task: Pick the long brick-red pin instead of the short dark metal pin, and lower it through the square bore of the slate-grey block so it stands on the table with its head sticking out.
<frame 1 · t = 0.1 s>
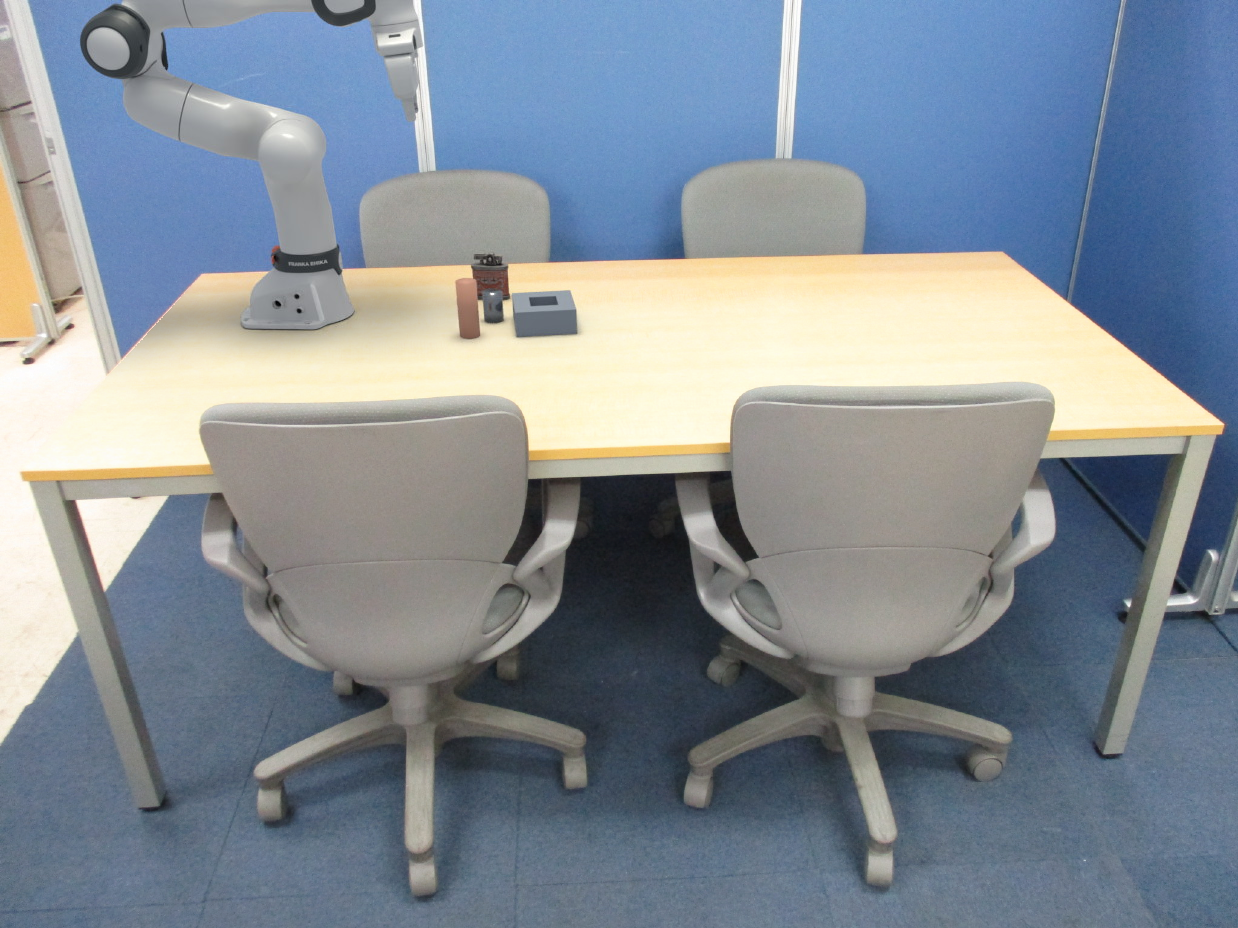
hand: (413, 117, 191), 39 cm above the table, tool pointing down, fingers open, 8 cm apart
lighter: (491, 299, 215), on the table
bore block: (544, 324, 200), on the table
short pin: (494, 320, 203), on the table
long pin: (470, 335, 195), on the table
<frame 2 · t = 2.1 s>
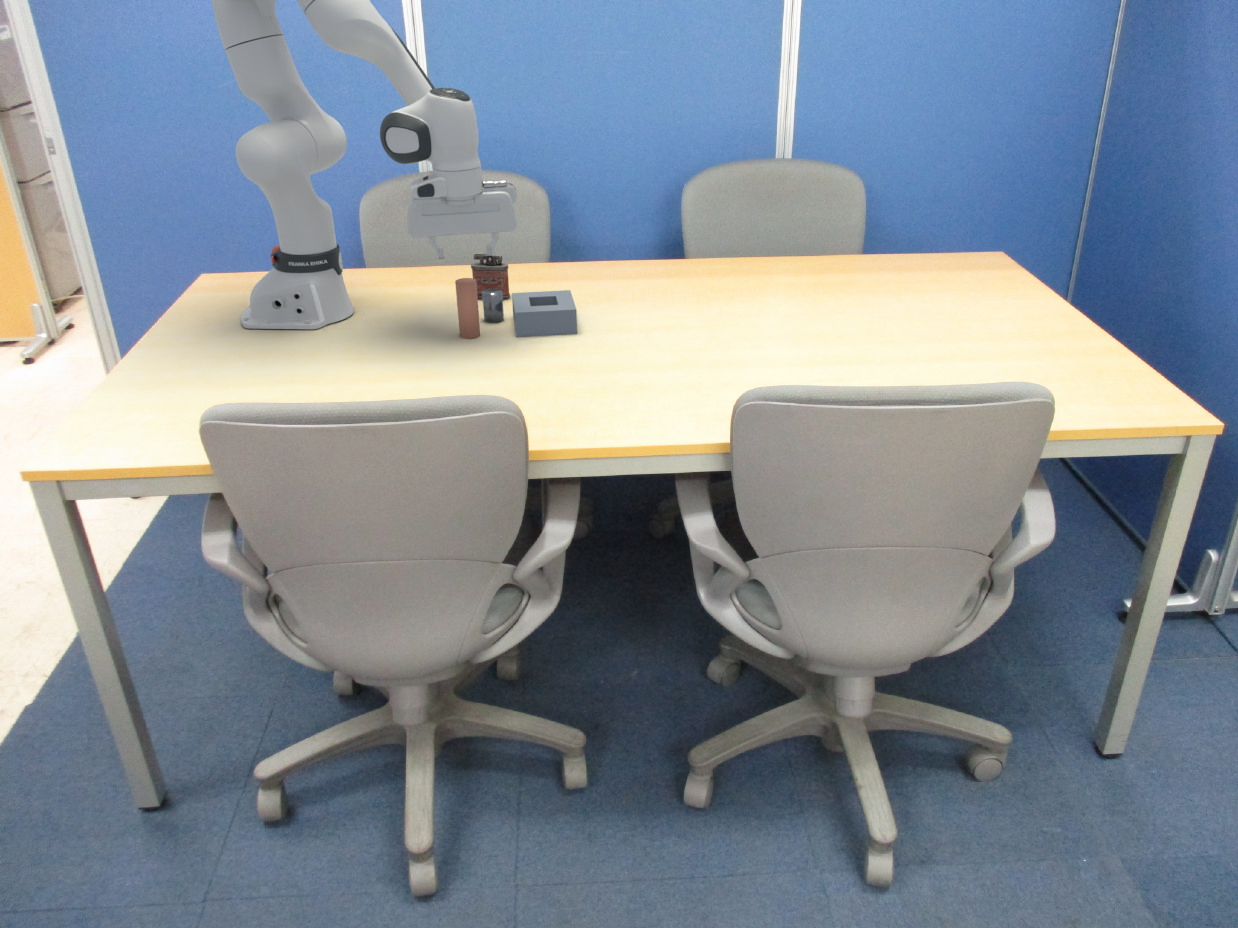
hand: (465, 257, 188), 16 cm above the table, tool pointing down, fingers open, 8 cm apart
nothing on the table moved.
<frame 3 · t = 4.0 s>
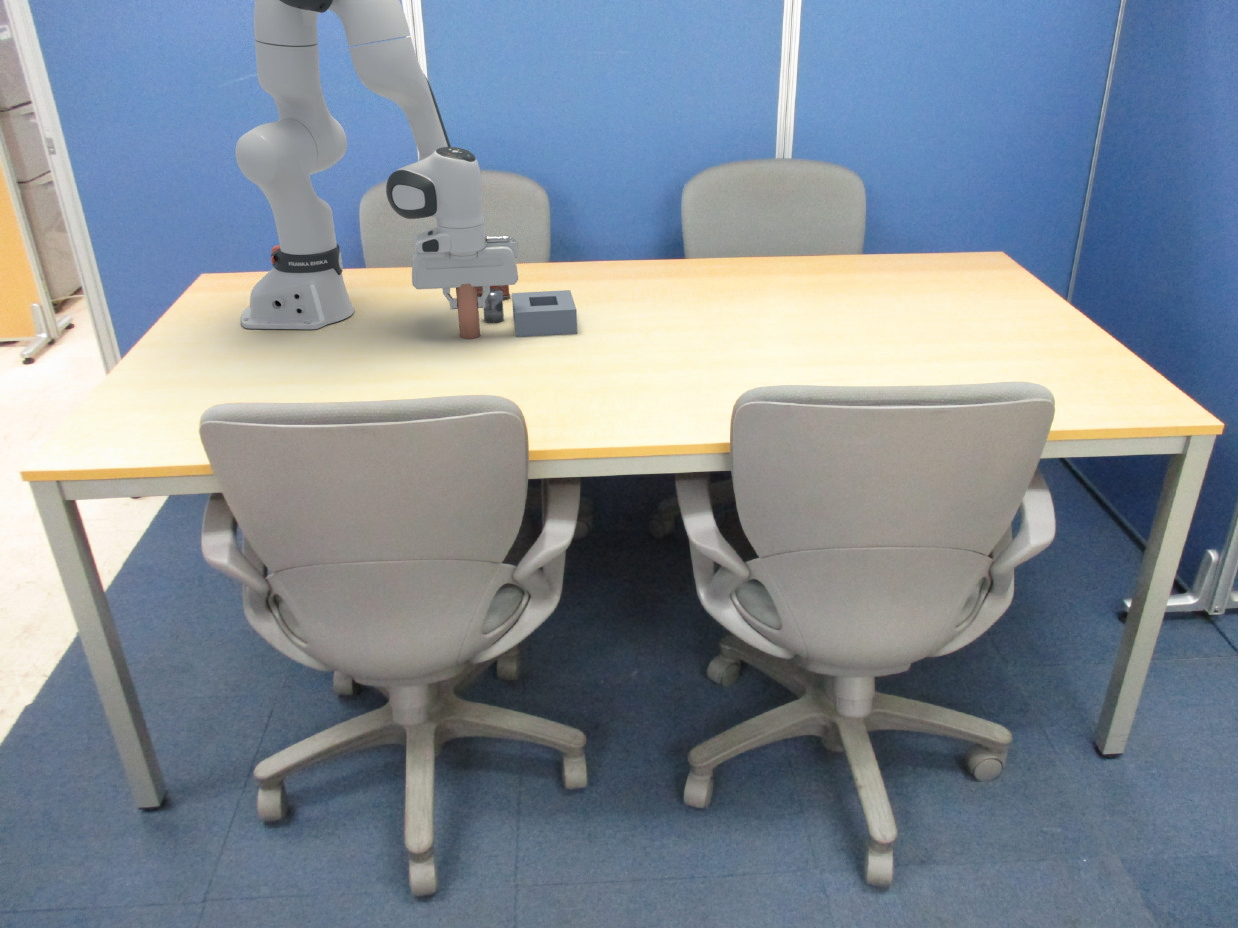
hand: (467, 308, 193), 6 cm above the table, tool pointing down, fingers closed on long pin, 4 cm apart
long pin: (470, 335, 195), on the table, touching gripper
everything else where it was.
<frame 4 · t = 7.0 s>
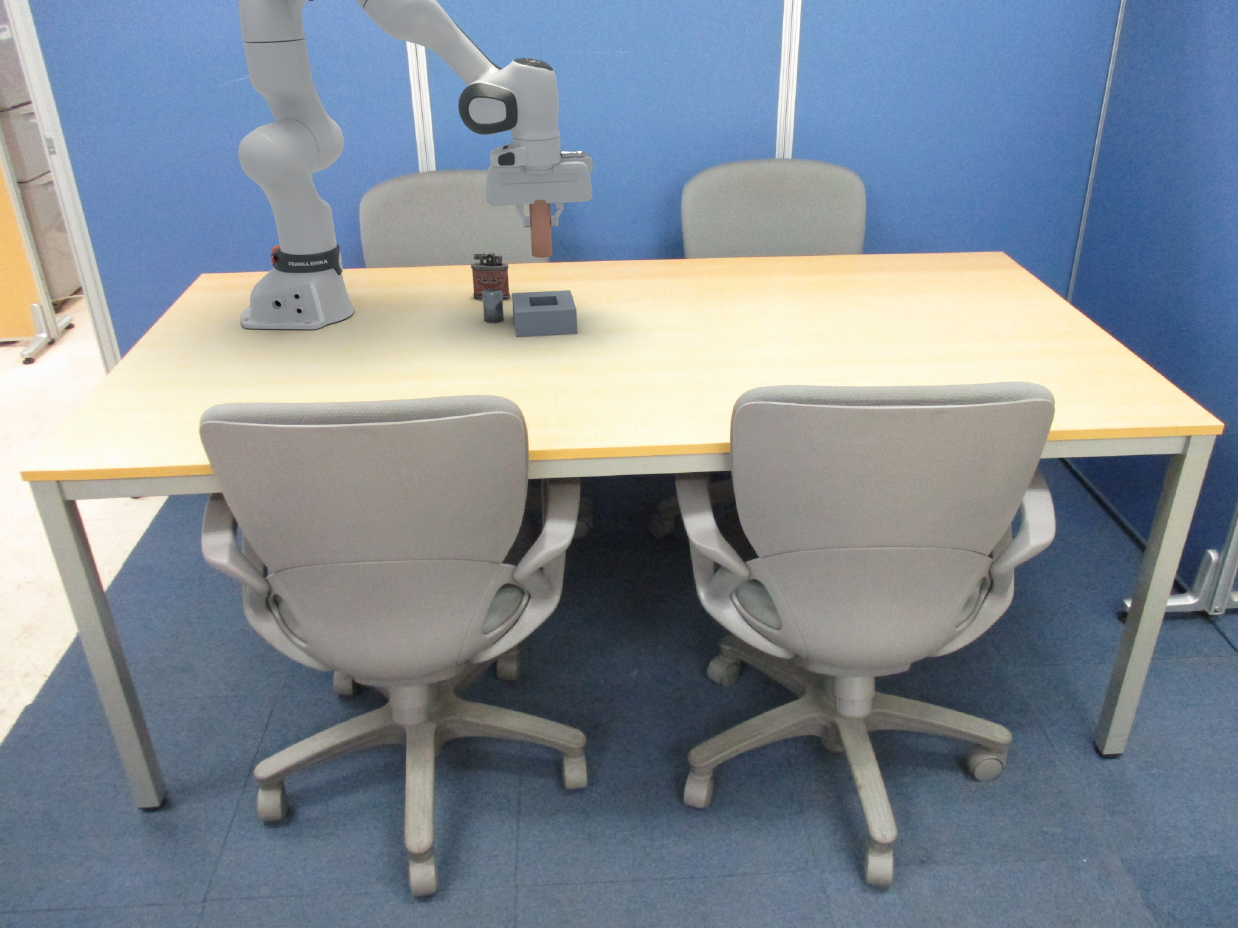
hand: (540, 226, 191), 20 cm above the table, tool pointing down, fingers closed on long pin, 4 cm apart
long pin: (542, 254, 193), point 15 cm above the table, touching gripper
everything else where it was.
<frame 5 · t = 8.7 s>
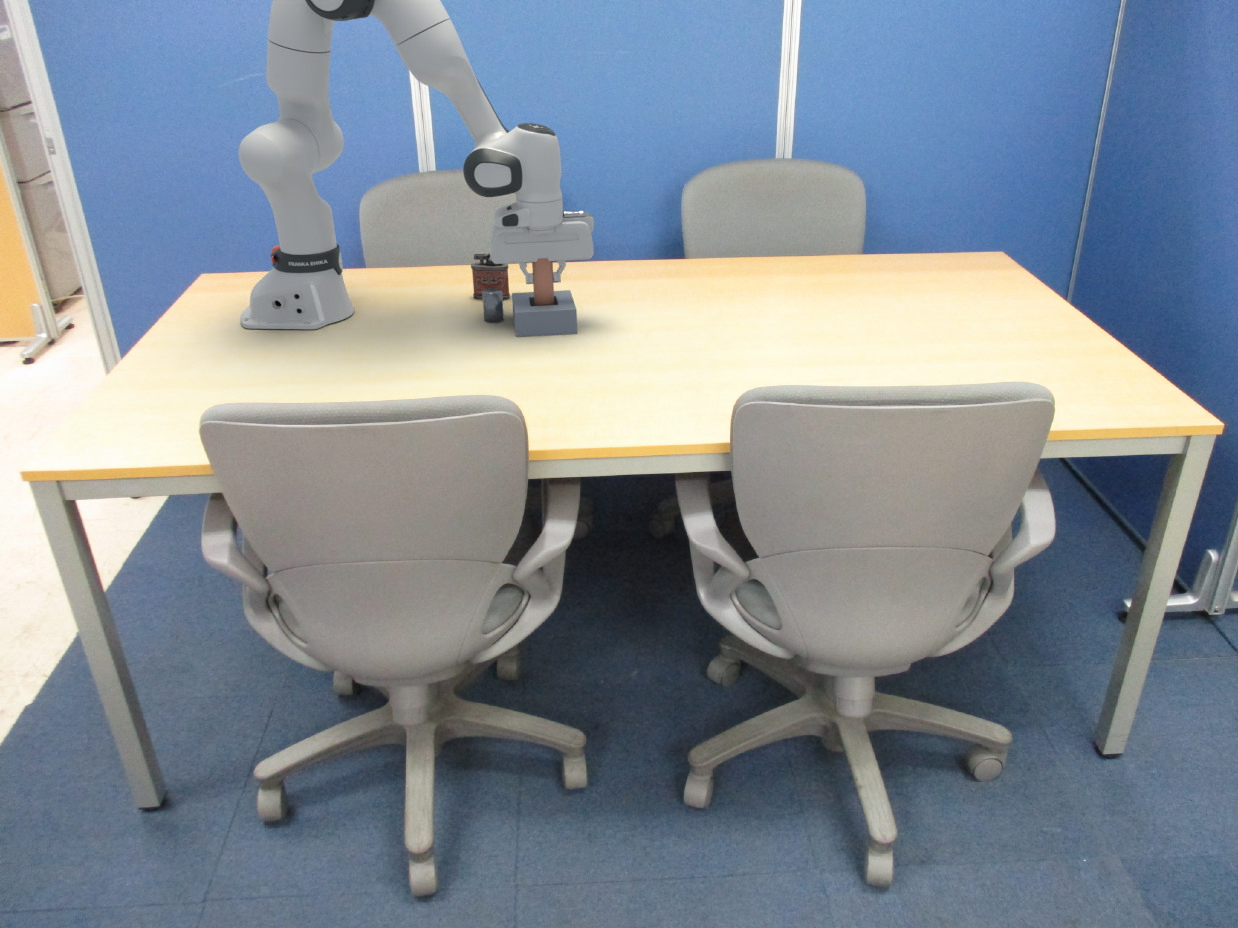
hand: (543, 282, 196), 9 cm above the table, tool pointing down, fingers closed on long pin, 4 cm apart
long pin: (544, 309, 199), point 3 cm above the table, touching gripper
everything else where it was.
when the fingers open (6 cm above the table, at t = 10.3 s): long pin stays where it is, resting in bore block.
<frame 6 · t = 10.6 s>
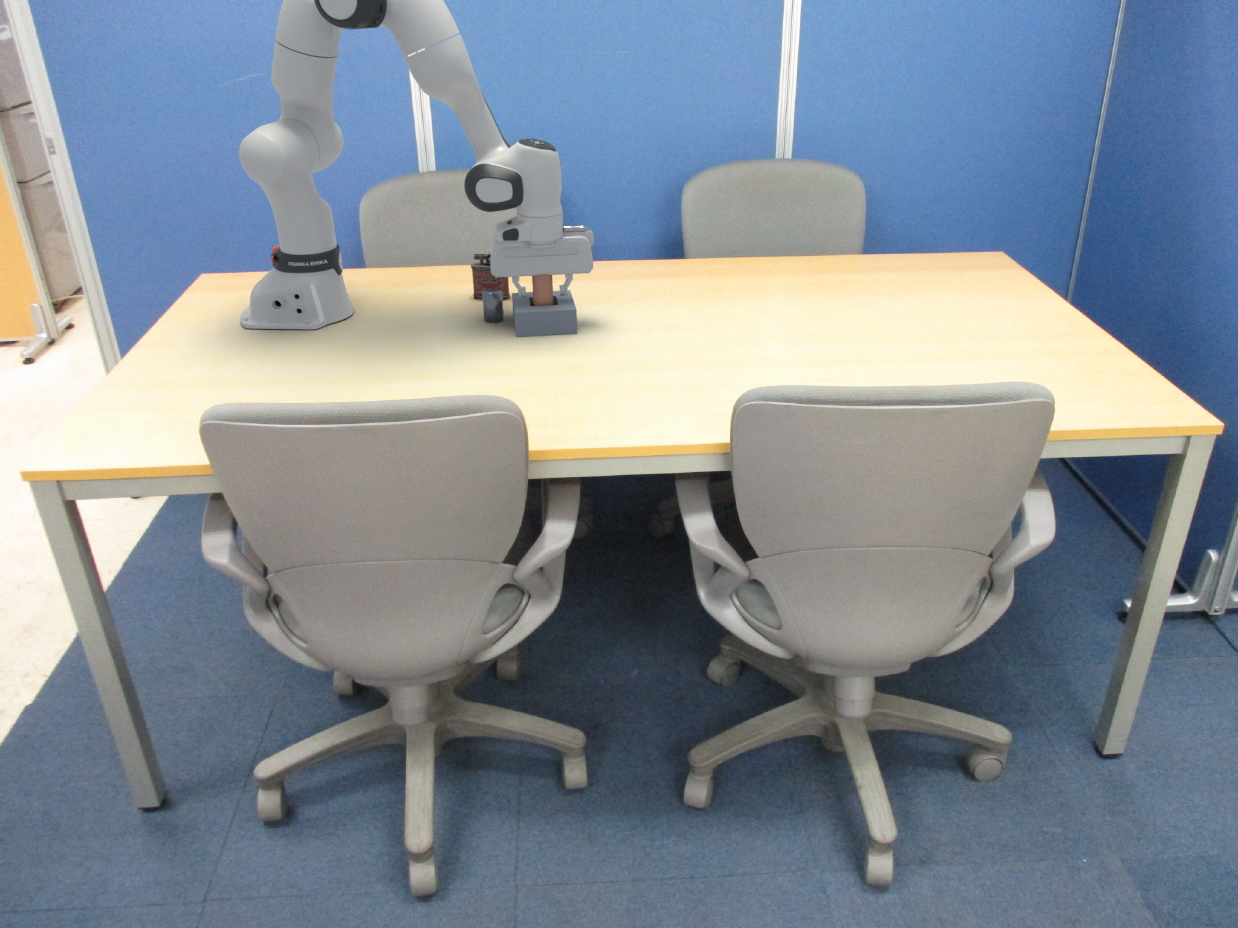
hand: (543, 296, 197), 6 cm above the table, tool pointing down, fingers open, 7 cm apart
long pin: (544, 325, 200), resting in bore block
everything else where it was.
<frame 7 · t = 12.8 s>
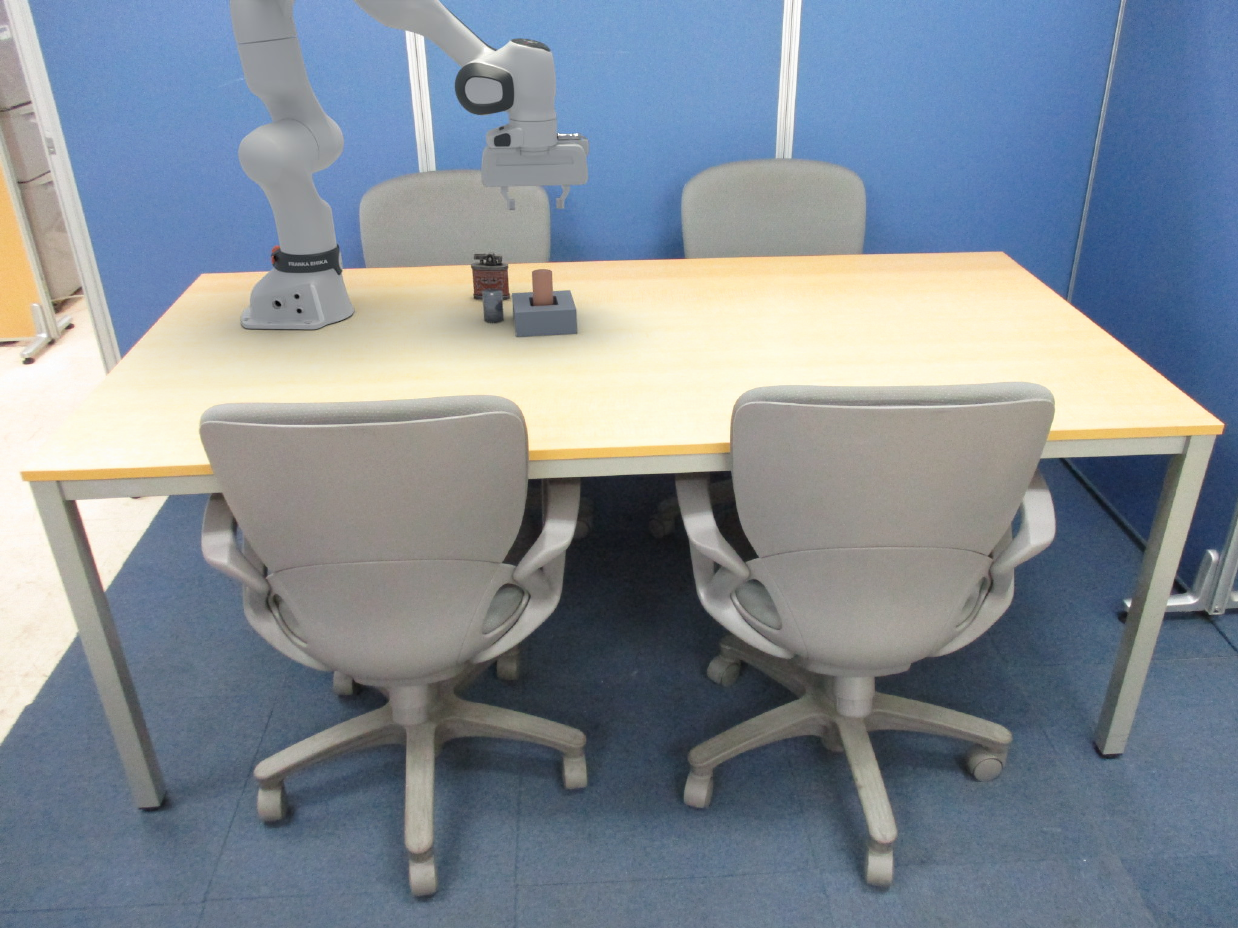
hand: (535, 209, 190), 23 cm above the table, tool pointing down, fingers open, 8 cm apart
nothing on the table moved.
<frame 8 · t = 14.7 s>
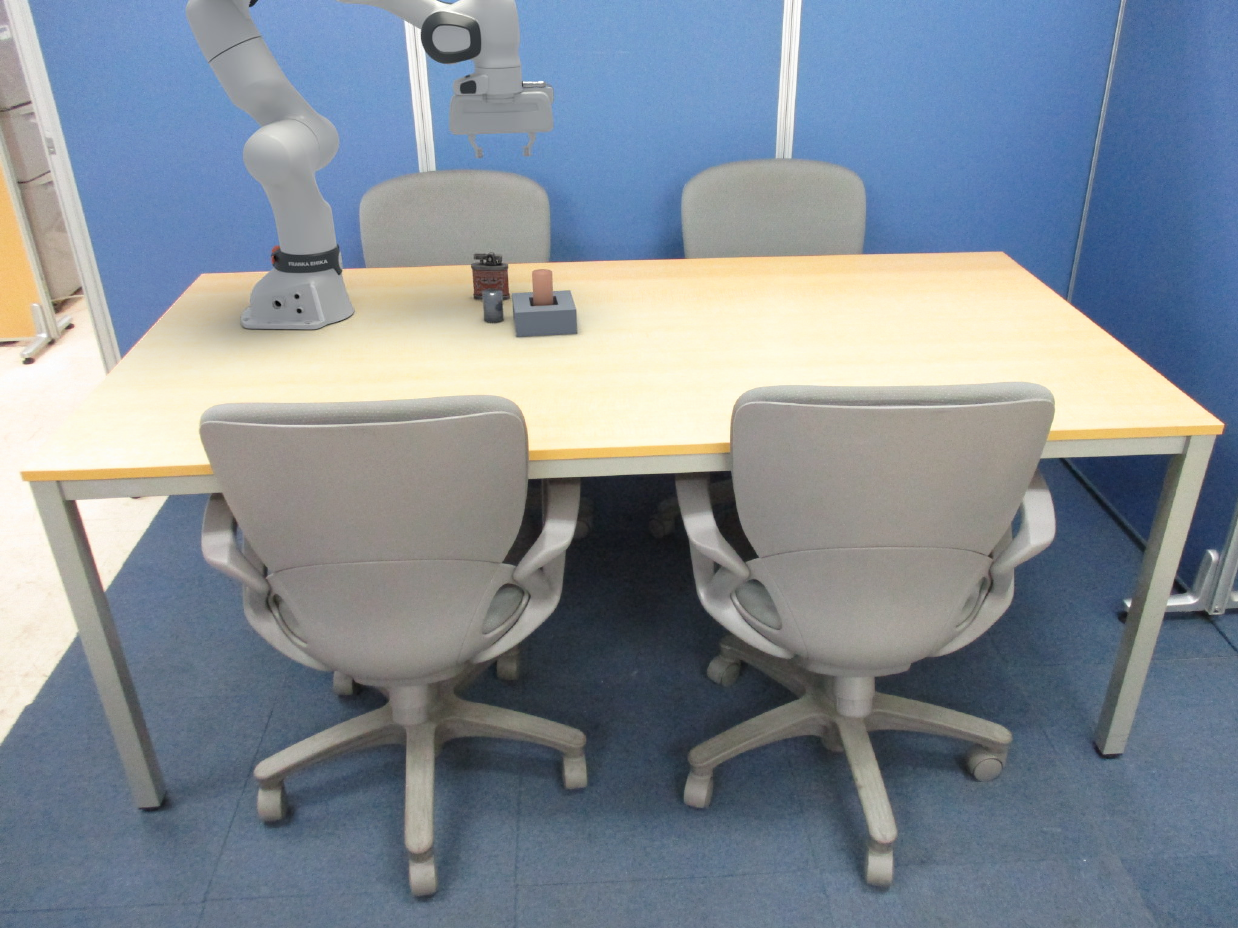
hand: (503, 156, 195), 31 cm above the table, tool pointing down, fingers open, 8 cm apart
nothing on the table moved.
at the end: long pin 0.1 cm off-centre on the bore block, point 0.0 cm above the bore block's base; long pin tilted 0°; short pin moved 0.0 cm from its start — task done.
